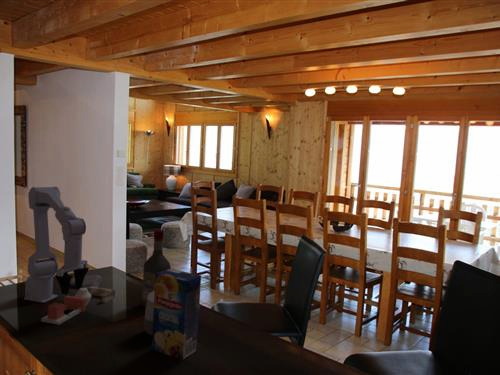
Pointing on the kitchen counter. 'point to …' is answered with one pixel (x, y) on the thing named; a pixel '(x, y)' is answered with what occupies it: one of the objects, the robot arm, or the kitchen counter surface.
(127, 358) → the kitchen counter surface
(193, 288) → the juice carton
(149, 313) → the smart speaker
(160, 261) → the liquor
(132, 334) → the kitchen counter surface
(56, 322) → the white rails red ends
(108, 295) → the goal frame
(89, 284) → the stone block
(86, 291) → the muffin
